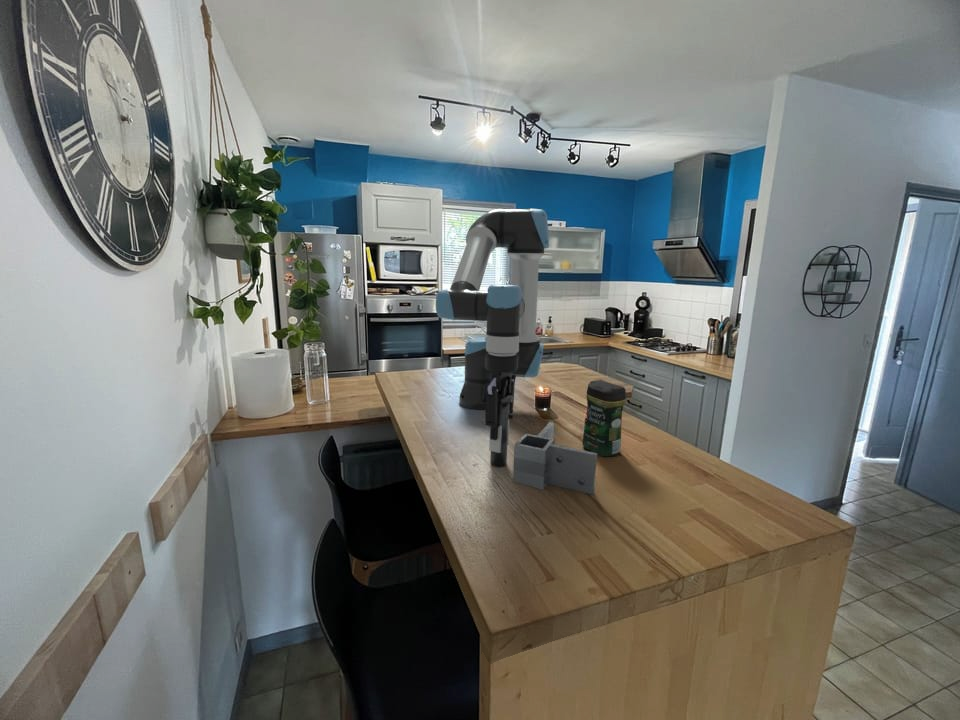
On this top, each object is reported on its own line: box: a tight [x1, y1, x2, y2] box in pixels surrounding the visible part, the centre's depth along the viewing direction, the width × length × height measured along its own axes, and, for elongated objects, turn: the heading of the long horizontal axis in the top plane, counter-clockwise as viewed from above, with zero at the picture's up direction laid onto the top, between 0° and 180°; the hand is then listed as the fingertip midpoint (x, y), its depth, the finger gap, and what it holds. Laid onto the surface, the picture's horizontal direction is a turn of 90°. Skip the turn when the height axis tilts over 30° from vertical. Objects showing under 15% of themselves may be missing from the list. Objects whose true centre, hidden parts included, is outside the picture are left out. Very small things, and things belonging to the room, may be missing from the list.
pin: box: [489, 393, 513, 468], centre depth 99 cm, size 6×6×17 cm
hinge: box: [512, 421, 598, 496], centre depth 95 cm, size 17×17×9 cm
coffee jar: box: [581, 379, 627, 457], centre depth 108 cm, size 10×8×19 cm
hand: (498, 447), depth 100 cm, fingers closed on pin, 4 cm apart
